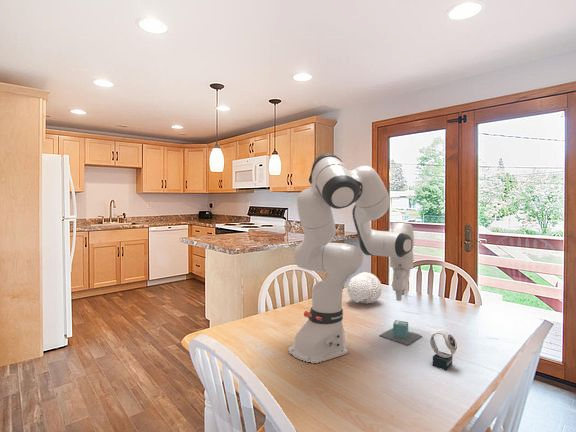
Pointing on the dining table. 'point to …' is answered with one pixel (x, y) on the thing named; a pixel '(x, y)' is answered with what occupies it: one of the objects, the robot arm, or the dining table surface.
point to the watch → (443, 358)
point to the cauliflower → (364, 288)
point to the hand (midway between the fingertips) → (400, 297)
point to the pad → (409, 340)
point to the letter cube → (400, 329)
